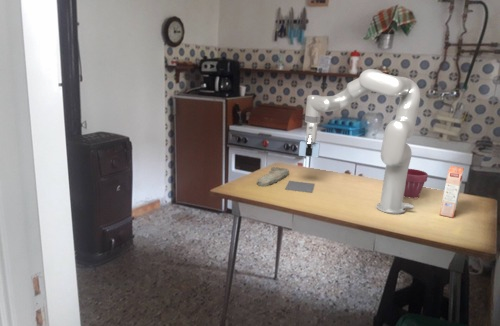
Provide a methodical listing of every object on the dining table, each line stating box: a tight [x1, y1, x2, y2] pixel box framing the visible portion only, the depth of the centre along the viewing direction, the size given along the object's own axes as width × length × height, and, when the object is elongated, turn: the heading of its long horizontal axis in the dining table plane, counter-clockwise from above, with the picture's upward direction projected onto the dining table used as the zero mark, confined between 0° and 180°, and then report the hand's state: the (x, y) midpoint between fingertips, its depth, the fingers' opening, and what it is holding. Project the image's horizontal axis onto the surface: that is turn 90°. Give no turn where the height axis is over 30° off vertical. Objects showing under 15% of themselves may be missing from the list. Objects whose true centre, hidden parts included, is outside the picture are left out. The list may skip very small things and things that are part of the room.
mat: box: [284, 180, 316, 193], centre depth 206 cm, size 14×16×1 cm
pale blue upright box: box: [298, 140, 321, 159], centre depth 201 cm, size 10×4×7 cm, turn 76°
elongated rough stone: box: [256, 166, 290, 187], centre depth 218 cm, size 35×5×10 cm
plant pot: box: [404, 168, 429, 199], centre depth 200 cm, size 14×14×13 cm
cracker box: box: [439, 165, 465, 219], centre depth 176 cm, size 14×6×21 cm, turn 148°
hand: (308, 154), depth 201 cm, fingers closed on pale blue upright box, 4 cm apart
